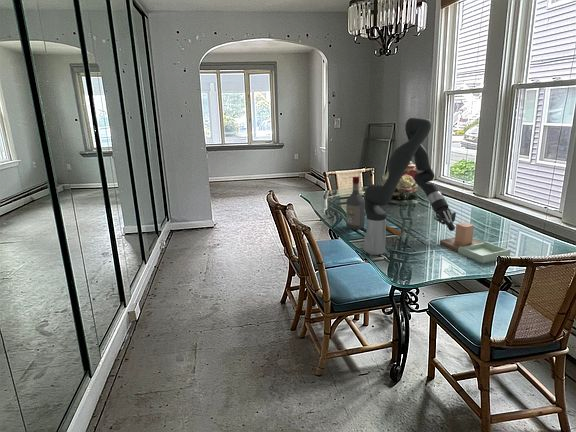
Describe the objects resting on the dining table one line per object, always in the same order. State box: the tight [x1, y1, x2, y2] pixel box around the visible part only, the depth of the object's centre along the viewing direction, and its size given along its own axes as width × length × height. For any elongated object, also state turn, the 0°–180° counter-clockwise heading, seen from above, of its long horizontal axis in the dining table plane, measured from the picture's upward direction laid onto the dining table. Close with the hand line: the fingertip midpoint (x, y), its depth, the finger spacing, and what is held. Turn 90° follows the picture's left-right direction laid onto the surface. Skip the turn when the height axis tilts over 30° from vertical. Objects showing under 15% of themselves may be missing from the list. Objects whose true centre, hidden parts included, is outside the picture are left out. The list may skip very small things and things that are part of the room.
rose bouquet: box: [380, 160, 421, 206], centre depth 276 cm, size 26×29×30 cm
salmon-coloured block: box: [454, 222, 475, 245], centre depth 186 cm, size 5×6×9 cm
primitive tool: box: [386, 224, 404, 236], centre depth 217 cm, size 19×6×4 cm, turn 25°
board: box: [439, 236, 484, 254], centre depth 189 cm, size 16×12×2 cm
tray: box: [457, 240, 511, 265], centre depth 177 cm, size 16×15×4 cm
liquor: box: [345, 176, 366, 231], centre depth 220 cm, size 9×9×30 cm
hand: (452, 230), depth 193 cm, fingers closed
